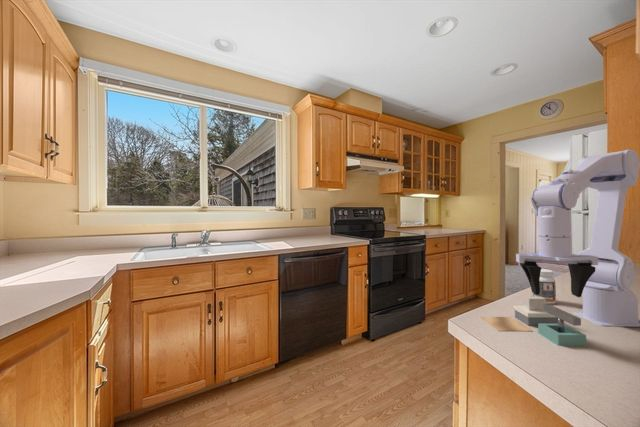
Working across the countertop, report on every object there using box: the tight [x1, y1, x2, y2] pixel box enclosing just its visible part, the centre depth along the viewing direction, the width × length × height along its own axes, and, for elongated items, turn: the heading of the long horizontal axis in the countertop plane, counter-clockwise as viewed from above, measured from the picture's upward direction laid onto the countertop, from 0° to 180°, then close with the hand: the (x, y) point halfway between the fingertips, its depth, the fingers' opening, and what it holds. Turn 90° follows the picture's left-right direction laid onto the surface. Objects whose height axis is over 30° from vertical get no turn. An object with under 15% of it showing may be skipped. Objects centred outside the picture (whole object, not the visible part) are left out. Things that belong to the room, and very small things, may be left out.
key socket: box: [536, 323, 589, 347], centre depth 58 cm, size 6×6×2 cm
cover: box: [512, 296, 556, 317], centre depth 67 cm, size 7×5×4 cm
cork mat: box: [480, 316, 534, 332], centre depth 66 cm, size 8×8×1 cm
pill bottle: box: [531, 268, 557, 305], centre depth 81 cm, size 6×6×10 cm
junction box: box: [514, 310, 558, 327], centre depth 67 cm, size 7×5×2 cm
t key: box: [544, 304, 582, 333], centre depth 58 cm, size 8×2×6 cm, turn 175°
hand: (555, 294), depth 59 cm, fingers open, 7 cm apart
